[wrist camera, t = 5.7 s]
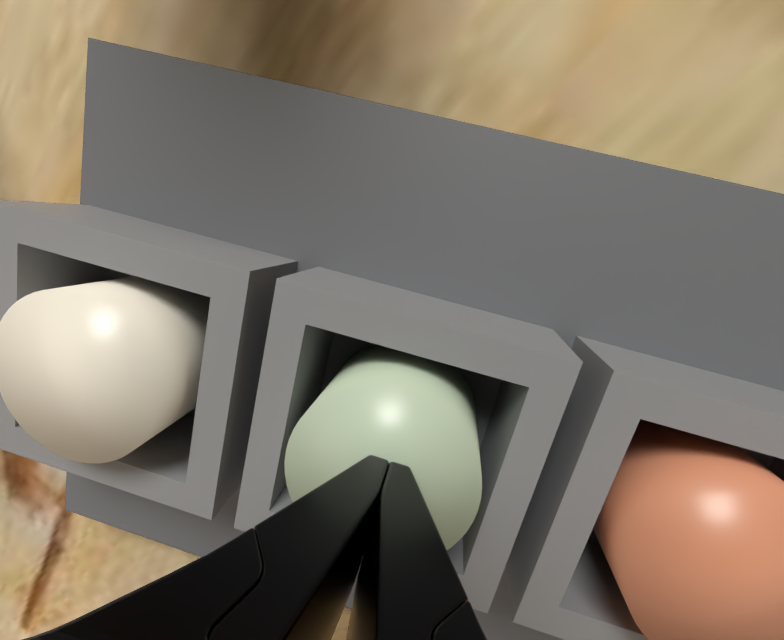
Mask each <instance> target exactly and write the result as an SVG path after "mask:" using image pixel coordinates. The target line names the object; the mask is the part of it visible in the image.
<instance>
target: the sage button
mask: <svg viewBox="0 0 784 640" xmlns="http://www.w3.org/2000/svg"><path fill="white" fill-rule="evenodd" d="M369 455H374V456H377V457H380V458H383V459H386V460H388V462H389V463H390V462H396V463H399V464H403V465H406V466H408V467H410V469H411V471H412V473H413V475H414V477H415V480H416V482H417V484H418V486H419V489H420V491H421V493H422V495H423V498H424V500H425V502H426V504H427V507H428V509H429V511H430V513H431V516H432V518H433V520H434V522H435V525H436V527H437V529H438V532H439V534H440V536H441V538H442V541H443V543H444V545H445V547H446V550H448V549H450V548H451V547H452V546H453V545H455V544H456V543H457V542H458V541H459V540H460V539H461V538H462V537H463V536H464V534H465V533H466V532H467V531H468V529H469V528H470V526H471V524H472V523H473V521H474V519H475V517H476V514H477V512H478V509H479V505H480V501H481V495H482V473H481V462H480V451H479V440H478V430H477V419H476V408H475V402H474V396H473V394H472V391H471V388H470V386H469V384H468V382H467V380H466V378H465V377H464V375H463V374H462V372H461V371H460V370H459V369H458V367H455V366H451V365H448V364H444V363H441V362H437V361H434V360H430V359H427V358H423V357H420V356H416V355H413V354H409V353H406V352H402V351H398V350H395V349H391V348H388V347H384V346H381V345H377V344H375V345H372V346H370V347H368V348H366V349H363V350H362V351H360V352H359V353H357V354H356V355H354V356H353V357H352V358H351V359H350V360H349V361H348V362H347V363H346V364H345V365H344V366H343V368H342V369H341V370H340V371H339V372H338V374H337V375H336V376H335V377H334V379H333V380H332V381H331V382H330V383H329V385H328V386H327V387H326V388H325V389H324V391H323V392H322V393H321V394H320V395H319V397H318V398H317V399H316V400H315V401H314V403H313V404H312V405H311V406H310V407H309V409H308V410H307V411H306V412H305V414H304V415H303V416H302V417H301V418H300V420H299V421H298V423H297V424H296V426H295V427H294V429H293V431H292V434H291V436H290V438H289V441H288V444H287V448H286V453H285V461H284V463H285V478H286V485H287V488H288V491H289V495H290V497H291V500H292V502H294V501H296V500H298V499H299V498H301V497H302V496H304V495H306V494H307V493H309V492H310V491H312V490H314V489H315V488H317V487H319V486H320V485H322V484H323V483H325V482H327V481H328V480H330V479H331V478H333V477H335V476H336V475H338V474H340V473H341V472H343V471H344V470H346V469H348V468H349V467H351V466H352V465H354V464H356V463H357V462H359V461H360V460H362V459H364V458H365V457H367V456H369Z"/></svg>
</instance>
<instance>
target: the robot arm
mask: <svg viewBox="0 0 784 640" xmlns="http://www.w3.org/2000/svg"><path fill="white" fill-rule="evenodd" d="M359 568H360V569H359ZM358 571H359V573H358ZM357 574H358V577H357ZM356 577H357V581H356V586H355V591H354V597H353V603H352V609H351V615H350V621H349V627H348V634H347V640H487V638H486V636H485V634H484V632H483V630H482V628H481V626H480V624H479V621H478V619H477V617H476V615H475V612H474V610H473V608H472V606H471V603H470V602H469V601H468V597H467V595H466V592H465V590H464V588H463V586H462V583H461V581H460V579H459V577H458V574H457V572H456V570H455V568H454V565H453V563H452V561H451V559H450V556H449V554H448V552H447V550H446V547H445V545H444V543H443V541H442V538H441V536H440V534H439V532H438V529H437V527H436V525H435V522H434V520H433V518H432V516H431V513H430V511H429V509H428V507H427V504H426V502H425V500H424V498H423V495H422V493H421V491H420V489H419V486H418V484H417V482H416V480H415V477H414V475H413V473H412V471H411V469H410V467H408V466H406V465H403V464H399V463H396V462H390V463H389V462H388V460H386V459H383V458H380V457H377V456H374V455H369V456H367V457H365V458H364V459H362V460H360V461H359V462H357V463H356V464H354V465H352V466H351V467H349V468H348V469H346V470H344V471H343V472H341V473H340V474H338V475H336V476H335V477H333V478H331V479H330V480H328V481H327V482H325V483H323V484H322V485H320V486H319V487H317V488H315V489H314V490H312V491H310V492H309V493H307V494H306V495H304V496H302V497H301V498H299V499H298V500H296V501H294V502H293V503H291V504H290V505H288V506H286V507H285V508H283V509H281V510H280V511H278V512H277V513H275V514H273V515H272V516H270V517H269V518H267V519H265V520H264V521H262V522H261V523H259V524H257V525H256V526H255V527H254V529H253V528H251V529H249V530H247V531H246V532H244V533H242V534H241V535H239V536H238V537H236V538H234V539H233V540H231V541H229V542H227V543H226V544H224V545H222V546H221V547H219V548H217V549H215V550H214V551H212V552H210V553H209V554H207V555H205V556H203V557H201V558H199V559H197V560H195V561H193V562H191V563H189V564H187V565H186V566H184V567H182V568H180V569H178V570H176V571H174V572H172V573H170V574H168V575H166V576H164V577H162V578H160V579H157V580H155V581H153V582H151V583H149V584H147V585H145V586H143V587H141V588H139V589H137V590H135V591H133V592H131V593H129V594H126V595H124V596H122V597H120V598H118V599H116V600H114V601H112V602H110V603H108V604H106V605H104V606H102V607H100V608H97V609H95V610H93V611H91V612H89V613H87V614H85V615H83V616H81V617H79V618H77V619H75V620H73V621H70V622H68V623H66V624H64V625H61V626H59V627H57V628H55V629H52V630H50V631H47V632H44V633H41V634H39V635H36V636H33V637H30V638H26V639H23V640H331V638H332V635H333V633H334V631H335V628H336V626H337V624H338V621H339V619H340V617H341V614H342V612H343V609H344V607H345V605H346V602H347V600H348V598H349V595H350V593H351V590H352V588H353V585H354V583H355V580H356Z"/></svg>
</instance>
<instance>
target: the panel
mask: <svg viewBox="0 0 784 640" xmlns="http://www.w3.org/2000/svg"><path fill="white" fill-rule="evenodd" d="M132 276H137V277H140V278H144V279H147V280H151V281H154V282H158V283H161V284H165V285H169V286H172V287H176V288H179V289H183V290H186V291H190V292H193V293H197V294H200V295H204V296H207V297H210V305H209V312H208V320H207V327H206V335H205V342H204V350H203V357H202V365H201V372H200V380H199V387H198V395H197V402H196V408H194V409H193V410H192V411H190V412H189V413H187V414H186V415H184V416H183V417H181V418H180V419H178V420H177V421H176V422H174V423H173V424H171V425H170V426H168V427H167V428H165V429H164V430H162V431H161V432H159V433H158V434H157V435H155V436H154V437H152V438H151V439H149V440H148V441H146V442H145V443H143V444H142V445H141V446H139V447H138V448H136V449H135V450H133V451H132V452H130V453H129V454H127V455H126V456H124V457H122V458H120V459H118V460H114V461H111V462H106V463H99V464H95V463H82V462H77V461H73V460H69V459H66V458H64V457H61V456H59V455H57V454H55V453H53V452H51V451H49V450H48V449H46V448H45V447H43V446H42V445H40V444H39V443H38V442H37V441H35V440H34V439H33V438H32V437H31V436H30V435H29V434H28V433H27V432H26V431H25V430H24V429H23V428H22V427H21V426H20V425H19V424H18V422H17V421H16V420H15V419H14V417H13V416H12V414H11V413H10V411H9V410H8V408H7V406H6V404H5V402H4V400H3V398H2V396H1V393H0V449H2V450H5V451H8V452H11V453H14V454H17V455H20V456H23V457H26V458H29V459H32V460H35V461H37V462H40V463H43V464H46V465H49V466H52V467H55V468H58V469H61V470H64V471H67V477H66V497H65V510H68V511H71V512H73V513H76V514H79V515H82V516H85V517H88V518H91V519H94V520H96V521H99V522H102V523H105V524H108V525H111V526H114V527H117V528H119V529H122V530H125V531H128V532H131V533H134V534H137V535H140V536H142V537H145V538H148V539H151V540H154V541H157V542H160V543H163V544H165V545H168V546H171V547H174V548H177V549H180V550H183V551H186V552H188V553H191V554H194V555H197V556H200V557H203V556H205V555H207V554H209V553H210V552H212V551H214V550H215V549H217V548H219V547H221V546H222V545H224V544H226V543H227V542H229V541H231V540H233V539H234V538H236V537H238V536H239V535H241V534H242V533H244V532H246V531H247V530H249V529H251V528H253V529H254V527H255V526H256V525H257V524H259V523H261V522H262V521H264V520H265V519H267V518H269V517H270V516H272V515H273V514H275V513H277V512H278V511H280V510H281V509H283V508H285V507H286V506H288V505H290V504H291V503H293V502H292V500H291V497H290V495H289V491H288V488H287V485H286V478H285V463H284V461H285V453H286V448H287V444H288V441H289V438H290V436H291V434H292V431H293V429H294V427H295V426H296V424H297V423H298V421H299V420H300V418H301V417H302V416H303V415H304V414H305V412H306V411H307V410H308V409H309V407H310V406H311V405H312V404H313V403H314V401H315V400H316V399H317V398H318V397H319V395H320V394H321V393H322V392H323V391H324V389H325V388H326V387H327V386H328V385H329V383H330V382H331V381H332V380H333V379H334V377H335V376H336V375H337V374H338V372H339V371H340V370H341V369H342V368H343V366H344V365H345V364H346V363H347V362H348V361H349V360H350V359H351V358H352V357H353V356H354V355H356V354H357V353H359V352H360V351H362V350H363V349H366V348H368V347H370V346H372V345H375V344H377V345H381V346H384V347H388V348H391V349H395V350H398V351H402V352H406V353H409V354H413V355H416V356H420V357H423V358H427V359H430V360H434V361H437V362H441V363H444V364H448V365H451V366H455V367H458V369H459V370H460V371H461V372H462V374H463V375H464V377H465V378H466V380H467V382H468V384H469V386H470V388H471V391H472V394H473V396H474V402H475V408H476V419H477V430H478V440H479V451H480V462H481V473H482V495H481V501H480V505H479V509H478V512H477V514H476V517H475V519H474V521H473V523H472V524H471V526H470V528H469V529H468V531H467V532H466V533H465V534H464V536H463V537H462V538H461V539H460V540H459V541H458V542H457V543H456V544H455V545H453V546H452V547H451V548H450V549H448V550H447V552H448V554H449V556H450V559H451V561H452V563H453V565H454V568H455V570H456V572H457V574H458V577H459V579H460V581H461V583H462V586H463V588H464V590H465V592H466V595H467V597H468V601H469V602H470V603H471V606H472V608H473V610H474V612H475V615H476V617H477V619H478V621H479V624H480V626H481V628H482V630H483V632H484V634H485V636H486V638H487V640H648V639H647V637H646V636H645V635H644V634H643V633H642V632H641V630H640V629H639V627H638V626H637V624H636V623H635V621H634V619H633V617H632V615H631V613H630V611H629V608H628V606H627V604H626V602H625V599H624V597H623V595H622V593H621V590H620V588H619V586H618V584H617V581H616V579H615V577H614V575H613V572H612V570H611V568H610V566H609V563H608V561H607V559H606V557H605V554H604V552H603V550H602V548H601V545H600V543H599V541H598V539H597V536H596V534H595V532H594V530H593V527H594V525H595V522H596V520H597V518H598V515H599V513H600V511H601V509H602V506H603V504H604V502H605V499H606V497H607V495H608V492H609V490H610V488H611V485H612V483H613V481H614V479H615V476H616V474H617V472H618V469H619V467H620V465H621V462H622V460H623V458H624V455H625V453H626V451H627V449H628V446H629V444H630V442H631V439H632V437H633V435H634V432H635V430H636V428H637V425H638V423H639V421H640V419H643V420H646V421H650V422H653V423H657V424H660V425H664V426H667V427H671V428H674V429H678V430H681V431H685V432H688V433H692V434H696V435H699V436H703V437H706V438H710V439H713V440H717V441H720V442H724V443H727V444H731V445H734V446H738V447H740V448H742V449H743V450H744V451H745V452H747V453H748V454H749V455H751V456H752V457H753V458H754V459H756V460H757V461H758V462H760V463H761V464H762V465H763V466H765V467H766V468H767V469H768V470H770V471H771V472H772V473H774V474H775V475H776V476H777V477H779V478H780V479H781V480H783V481H784V194H780V193H776V192H771V191H767V190H763V189H758V188H754V187H749V186H745V185H740V184H736V183H731V182H727V181H723V180H718V179H714V178H709V177H705V176H700V175H696V174H691V173H687V172H683V171H678V170H674V169H669V168H665V167H660V166H656V165H652V164H647V163H643V162H638V161H634V160H629V159H625V158H620V157H616V156H612V155H607V154H603V153H598V152H594V151H589V150H585V149H580V148H576V147H572V146H567V145H563V144H558V143H554V142H549V141H545V140H540V139H536V138H532V137H527V136H523V135H518V134H514V133H509V132H505V131H500V130H496V129H492V128H487V127H483V126H478V125H474V124H469V123H465V122H460V121H456V120H452V119H447V118H443V117H438V116H434V115H429V114H425V113H420V112H416V111H412V110H407V109H403V108H398V107H394V106H389V105H385V104H380V103H376V102H372V101H367V100H363V99H358V98H354V97H349V96H345V95H341V94H336V93H332V92H327V91H323V90H318V89H314V88H309V87H305V86H301V85H296V84H292V83H287V82H283V81H278V80H274V79H269V78H265V77H261V76H256V75H252V74H247V73H243V72H238V71H234V70H229V69H225V68H221V67H216V66H212V65H207V64H203V63H198V62H194V61H189V60H185V59H181V58H176V57H172V56H167V55H163V54H158V53H154V52H149V51H145V50H141V49H136V48H132V47H127V46H123V45H118V44H114V43H109V42H105V41H101V40H96V39H92V38H88V53H87V73H86V93H85V114H84V134H83V154H82V174H81V194H80V205H78V204H61V203H44V202H28V201H11V200H0V321H1V319H2V317H3V316H4V314H5V313H6V312H7V310H8V309H9V308H10V307H11V306H12V305H13V304H14V303H15V302H16V301H18V300H20V299H21V298H23V297H24V296H26V295H29V294H31V293H33V292H37V291H41V290H46V289H53V288H60V287H66V286H73V285H79V284H86V283H93V282H99V281H106V280H112V279H119V278H126V277H132ZM359 569H360V568H359ZM358 573H359V571H358ZM357 577H358V574H357ZM357 577H356V580H355V583H354V585H353V588H352V590H351V593H350V595H349V598H348V600H347V602H346V605H345V607H347V608H349V609H352V603H353V597H354V591H355V586H356V581H357Z"/></svg>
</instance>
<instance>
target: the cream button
mask: <svg viewBox="0 0 784 640" xmlns="http://www.w3.org/2000/svg"><path fill="white" fill-rule="evenodd" d="M209 305H210V297H207V296H204V295H200V294H197V293H193V292H190V291H186V290H183V289H179V288H176V287H172V286H169V285H165V284H161V283H158V282H154V281H151V280H147V279H144V278H140V277H137V276H132V277H126V278H119V279H112V280H106V281H99V282H93V283H86V284H79V285H73V286H66V287H60V288H53V289H46V290H41V291H37V292H33V293H31V294H29V295H26V296H24V297H23V298H21V299H20V300H18V301H16V302H15V303H14V304H13V305H12V306H11V307H10V308H9V309H8V310H7V312H6V313H5V314H4V316H3V317H2V319H1V321H0V393H1V396H2V398H3V400H4V402H5V404H6V406H7V408H8V410H9V411H10V413H11V414H12V416H13V417H14V419H15V420H16V421H17V422H18V424H19V425H20V426H21V427H22V428H23V429H24V430H25V431H26V432H27V433H28V434H29V435H30V436H31V437H32V438H33V439H34V440H35V441H37V442H38V443H39V444H40V445H42V446H43V447H45V448H46V449H48V450H49V451H51V452H53V453H55V454H57V455H59V456H61V457H64V458H66V459H69V460H73V461H77V462H82V463H95V464H99V463H106V462H111V461H114V460H118V459H120V458H122V457H124V456H126V455H127V454H129V453H130V452H132V451H133V450H135V449H136V448H138V447H139V446H141V445H142V444H143V443H145V442H146V441H148V440H149V439H151V438H152V437H154V436H155V435H157V434H158V433H159V432H161V431H162V430H164V429H165V428H167V427H168V426H170V425H171V424H173V423H174V422H176V421H177V420H178V419H180V418H181V417H183V416H184V415H186V414H187V413H189V412H190V411H192V410H193V409H194V408H196V402H197V395H198V387H199V380H200V372H201V365H202V357H203V350H204V342H205V335H206V327H207V320H208V312H209Z"/></svg>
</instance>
